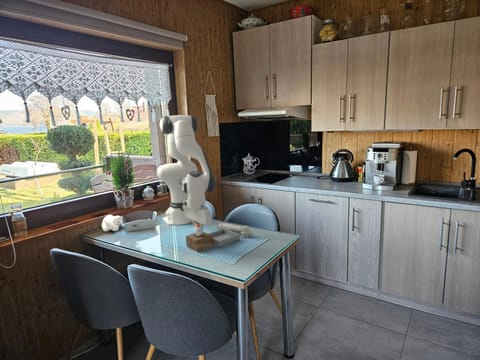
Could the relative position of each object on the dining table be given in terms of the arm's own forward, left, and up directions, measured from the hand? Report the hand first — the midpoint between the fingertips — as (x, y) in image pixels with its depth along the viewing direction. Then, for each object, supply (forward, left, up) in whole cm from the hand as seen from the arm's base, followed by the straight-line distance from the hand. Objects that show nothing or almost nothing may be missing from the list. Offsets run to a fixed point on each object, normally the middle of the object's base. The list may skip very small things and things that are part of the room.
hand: (198, 229), depth 162 cm
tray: (+2, +13, -9) cm, 16 cm away
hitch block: (0, 0, -10) cm, 10 cm away
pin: (0, 0, -8) cm, 8 cm away
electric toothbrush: (-2, +25, -10) cm, 27 cm away
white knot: (-63, -24, -10) cm, 68 cm away
